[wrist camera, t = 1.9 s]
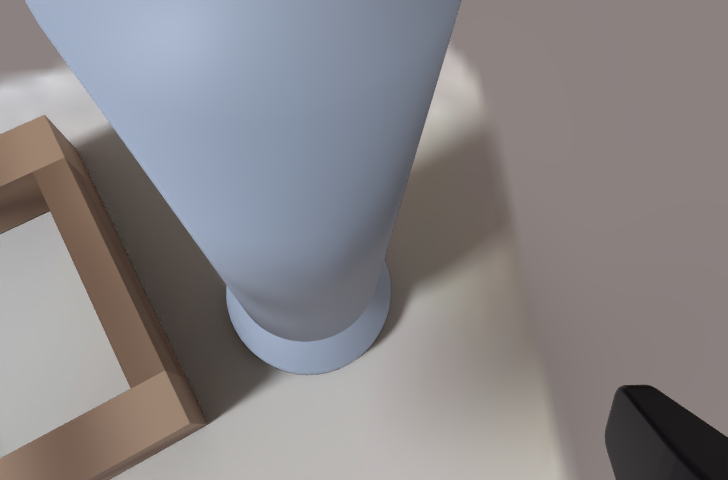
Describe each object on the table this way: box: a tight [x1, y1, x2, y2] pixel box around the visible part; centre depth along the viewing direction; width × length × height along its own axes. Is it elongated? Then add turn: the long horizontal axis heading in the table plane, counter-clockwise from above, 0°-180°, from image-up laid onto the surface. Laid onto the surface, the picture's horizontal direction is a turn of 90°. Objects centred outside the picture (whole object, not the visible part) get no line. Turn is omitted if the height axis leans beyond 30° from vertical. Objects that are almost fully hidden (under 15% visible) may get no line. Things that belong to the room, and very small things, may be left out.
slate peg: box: [25, 0, 461, 375], centre depth 13 cm, size 5×5×16 cm
